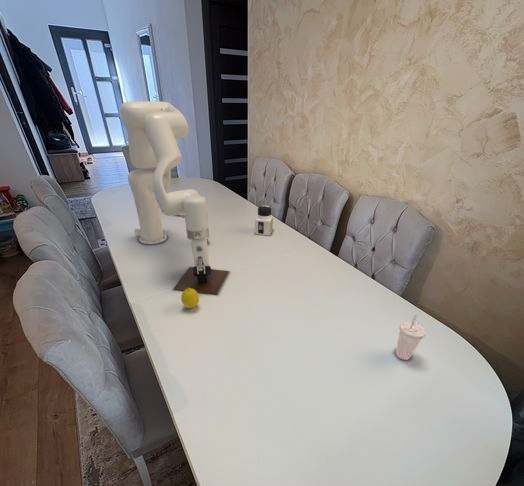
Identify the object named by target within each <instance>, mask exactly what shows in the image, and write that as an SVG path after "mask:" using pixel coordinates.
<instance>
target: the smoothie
mask: <svg viewBox="0 0 524 486" xmlns="http://www.w3.org/2000/svg"><path fill="white" fill-rule="evenodd" d="M417 317H418V315H417V314H414V315H413V317H412V320H405V321H402V322H401V323H400V324H399V326H398V330H399V331H398V332H399V333H398V339H397V344H396V350H395V356H397V358H399V359H400V360H403V361H407V360H410V358H411V357H412V355H413V354H414V352H415V351H416V349H417V347H418V345H419V344H420V342H421V340H422V339H424V338H426V335H427V334H426V333H427V331H426V328H424V326H423V325H421V324H420V323H419V322H417V321H416V320H417Z"/></svg>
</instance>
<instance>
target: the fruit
mask: <svg viewBox="0 0 524 486" xmlns="http://www.w3.org/2000/svg"><path fill="white" fill-rule="evenodd" d="M180 299H181V303H182V305H184V307H186V308H187V309H193V308H195V307H196V306H197V305H198V304H199V301H200V295H199V293H197V292H196V290H194V289H191V288H187V289H186V290H184V291H183V292H182V293H181V296H180Z"/></svg>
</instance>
